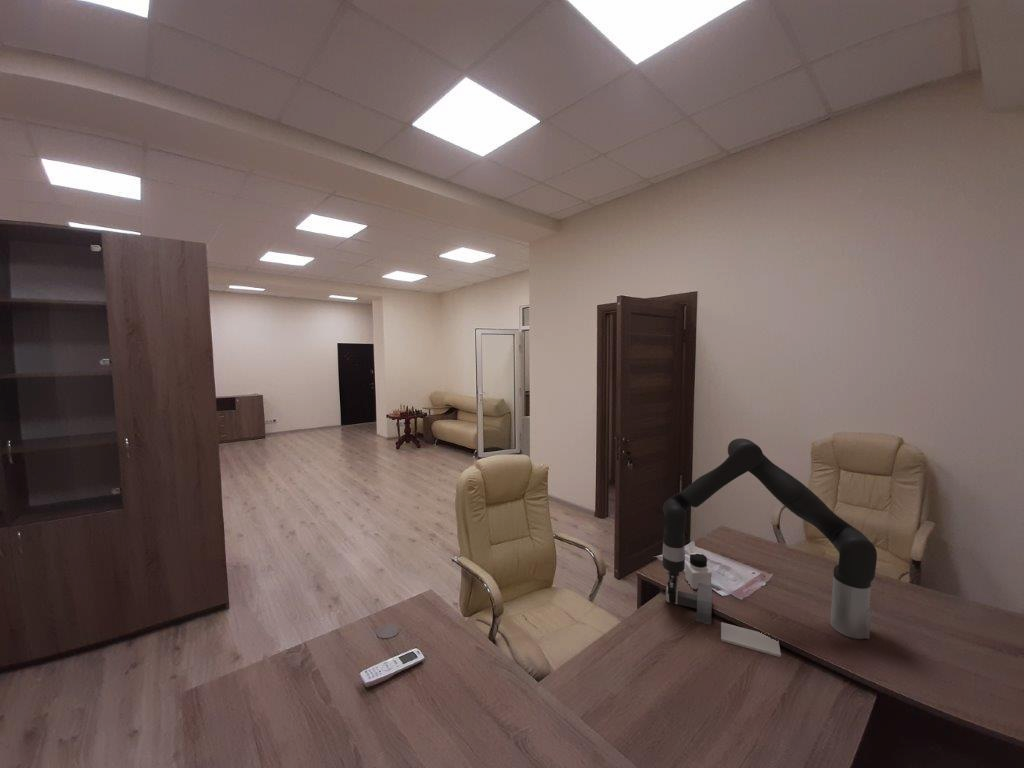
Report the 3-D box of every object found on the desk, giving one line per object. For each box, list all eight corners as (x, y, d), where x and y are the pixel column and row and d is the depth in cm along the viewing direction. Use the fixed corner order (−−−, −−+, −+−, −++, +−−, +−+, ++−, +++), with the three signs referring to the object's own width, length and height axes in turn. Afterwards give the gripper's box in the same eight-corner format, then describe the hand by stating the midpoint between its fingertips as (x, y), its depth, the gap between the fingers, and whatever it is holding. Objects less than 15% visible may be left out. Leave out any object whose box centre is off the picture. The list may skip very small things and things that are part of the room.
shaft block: (711, 598, 147) (712, 582, 147) (711, 625, 134) (711, 607, 133) (698, 595, 149) (698, 579, 149) (696, 621, 136) (696, 603, 136)
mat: (777, 639, 127) (777, 636, 127) (780, 657, 120) (781, 655, 120) (721, 624, 135) (721, 622, 134) (721, 640, 128) (721, 638, 127)
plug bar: (699, 603, 144) (699, 592, 144) (698, 609, 141) (698, 599, 140) (666, 594, 149) (666, 585, 149) (665, 601, 146) (665, 591, 145)
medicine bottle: (711, 589, 153) (712, 560, 151) (692, 590, 153) (693, 560, 151) (702, 578, 160) (703, 550, 158) (684, 578, 160) (685, 550, 158)
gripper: (683, 567, 136) (682, 614, 138) (686, 547, 149) (685, 590, 151) (660, 562, 140) (659, 607, 142) (664, 543, 152) (664, 585, 154)
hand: (672, 598), depth 146 cm, fingers closed on plug bar, 4 cm apart
